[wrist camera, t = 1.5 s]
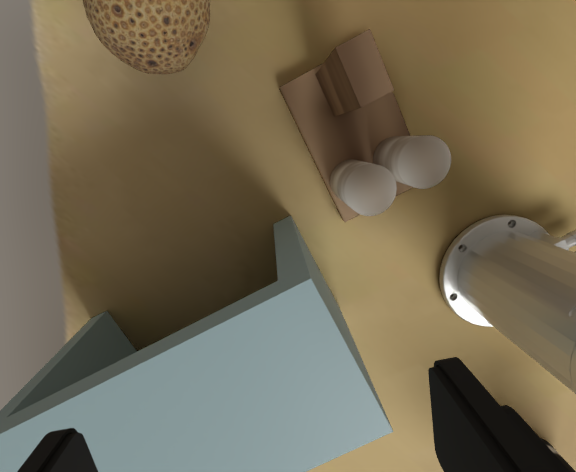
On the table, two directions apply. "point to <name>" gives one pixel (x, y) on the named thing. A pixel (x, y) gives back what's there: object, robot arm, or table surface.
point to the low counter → (211, 386)
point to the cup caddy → (361, 131)
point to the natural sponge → (150, 31)
